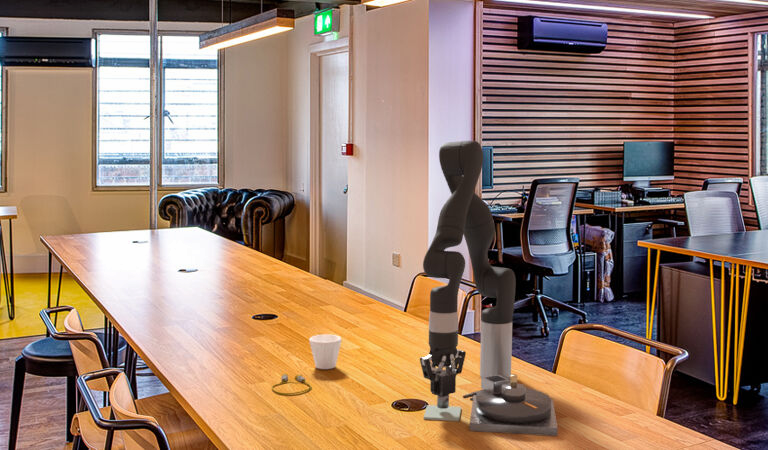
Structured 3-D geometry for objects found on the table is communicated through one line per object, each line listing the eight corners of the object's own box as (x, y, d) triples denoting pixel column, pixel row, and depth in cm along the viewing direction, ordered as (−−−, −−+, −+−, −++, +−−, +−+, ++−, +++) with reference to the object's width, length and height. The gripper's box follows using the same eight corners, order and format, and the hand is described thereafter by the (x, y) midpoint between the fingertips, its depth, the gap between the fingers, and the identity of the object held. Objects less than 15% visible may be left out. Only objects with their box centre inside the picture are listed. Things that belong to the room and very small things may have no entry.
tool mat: (427, 407, 208) (427, 405, 208) (461, 409, 207) (461, 406, 207) (423, 419, 199) (423, 416, 199) (458, 421, 198) (458, 419, 198)
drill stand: (473, 402, 212) (473, 395, 212) (552, 406, 209) (552, 399, 209) (469, 430, 192) (469, 422, 191) (557, 436, 188) (557, 428, 188)
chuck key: (430, 405, 203) (431, 372, 202) (444, 402, 206) (444, 369, 205) (441, 410, 200) (442, 376, 199) (455, 407, 202) (455, 373, 201)
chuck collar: (459, 403, 204) (460, 370, 203) (517, 392, 213) (517, 360, 212) (506, 428, 187) (507, 391, 186) (566, 414, 196) (567, 379, 195)
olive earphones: (322, 382, 231) (322, 375, 231) (301, 399, 216) (301, 392, 216) (284, 378, 235) (284, 371, 234) (261, 394, 220) (261, 387, 219)
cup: (340, 372, 239) (340, 342, 238) (307, 372, 239) (307, 342, 238) (342, 362, 249) (342, 334, 248) (311, 362, 249) (311, 334, 248)
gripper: (454, 321, 208) (454, 383, 210) (412, 328, 199) (412, 393, 201) (474, 326, 202) (473, 391, 204) (431, 334, 193) (430, 401, 195)
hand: (442, 392), depth 202 cm, fingers closed on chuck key, 4 cm apart
